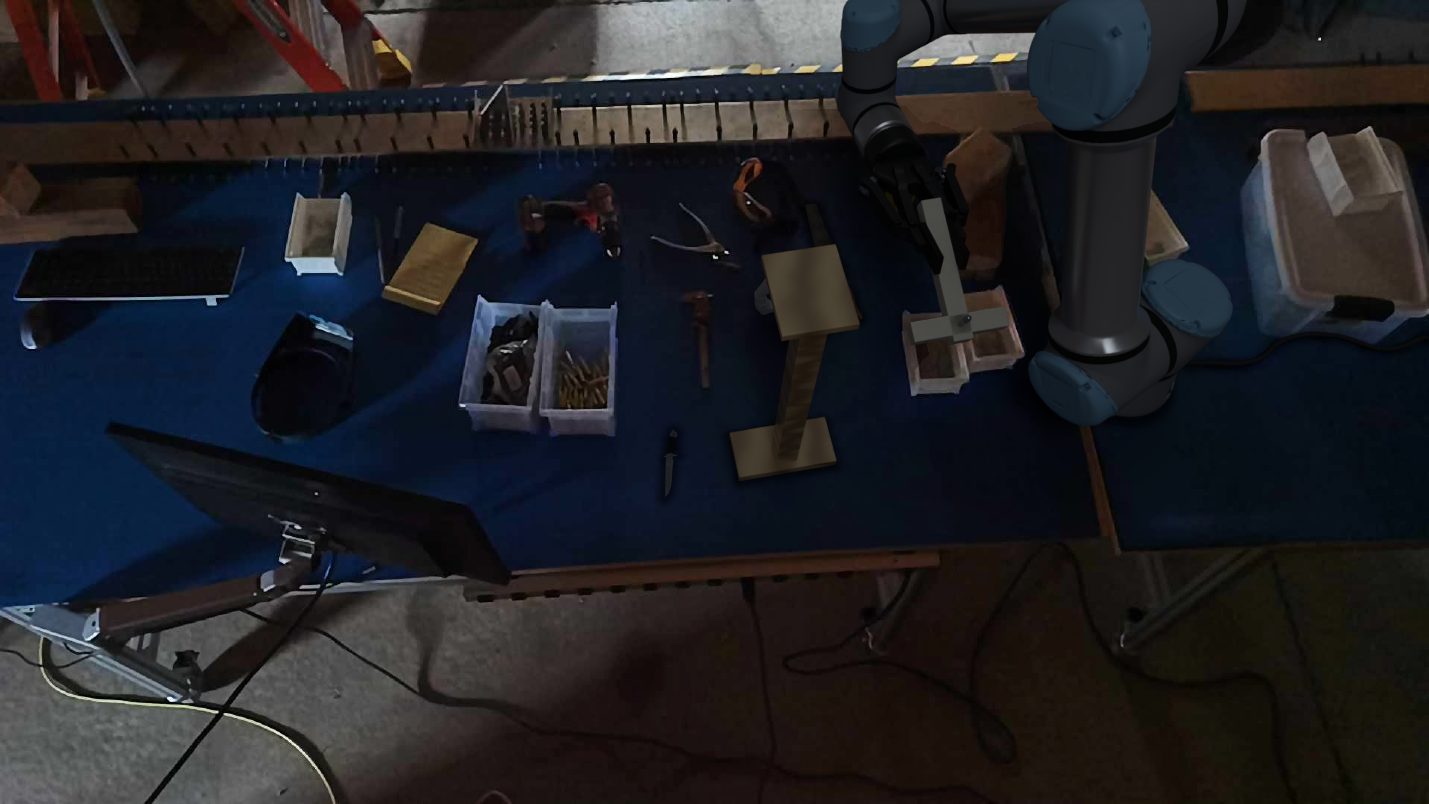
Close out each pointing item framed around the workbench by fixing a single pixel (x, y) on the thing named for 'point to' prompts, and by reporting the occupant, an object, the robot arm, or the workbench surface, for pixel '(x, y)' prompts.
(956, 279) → the grey t-shaped block
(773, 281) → the stand
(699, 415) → the workbench surface
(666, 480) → the knife
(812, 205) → the hand saw
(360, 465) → the workbench surface
